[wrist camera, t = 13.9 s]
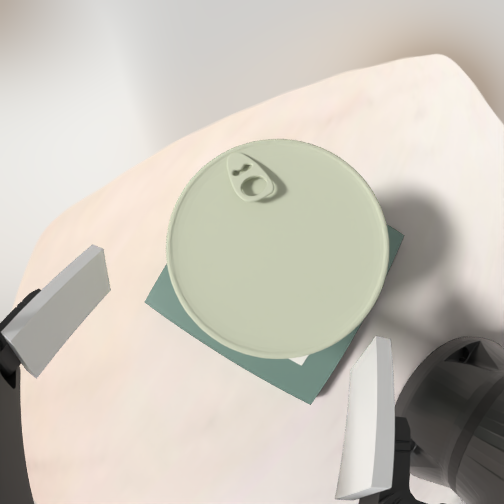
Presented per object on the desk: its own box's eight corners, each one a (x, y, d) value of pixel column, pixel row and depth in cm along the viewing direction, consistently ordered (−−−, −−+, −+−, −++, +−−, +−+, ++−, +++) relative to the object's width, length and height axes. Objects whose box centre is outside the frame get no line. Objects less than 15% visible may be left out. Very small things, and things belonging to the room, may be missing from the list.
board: (397, 239, 24) (404, 235, 22) (308, 399, 22) (310, 405, 20) (245, 153, 26) (243, 145, 25) (151, 302, 24) (143, 302, 23)
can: (300, 195, 23) (319, 103, 12) (355, 296, 22) (432, 286, 10) (198, 247, 23) (130, 193, 11) (250, 351, 21) (223, 402, 10)
